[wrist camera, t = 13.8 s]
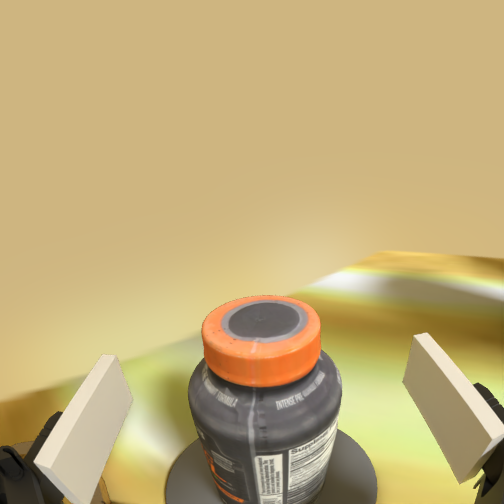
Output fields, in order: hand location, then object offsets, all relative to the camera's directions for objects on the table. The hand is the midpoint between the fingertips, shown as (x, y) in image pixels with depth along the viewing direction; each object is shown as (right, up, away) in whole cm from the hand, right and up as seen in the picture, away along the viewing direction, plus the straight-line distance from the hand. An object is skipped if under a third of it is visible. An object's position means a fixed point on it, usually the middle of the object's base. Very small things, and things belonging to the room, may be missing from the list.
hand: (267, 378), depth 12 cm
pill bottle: (0, -8, +1) cm, 8 cm away
